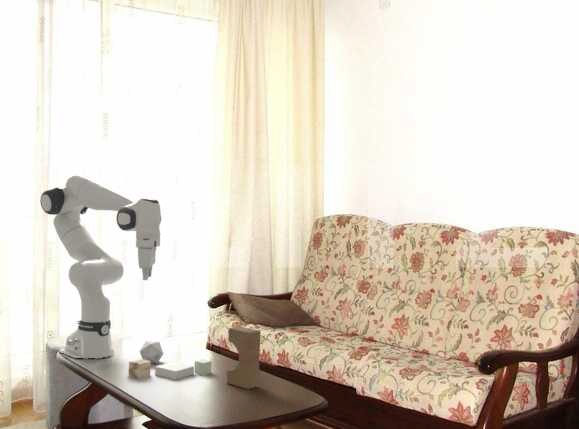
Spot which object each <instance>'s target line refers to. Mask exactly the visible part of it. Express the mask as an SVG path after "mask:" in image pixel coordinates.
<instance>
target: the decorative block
mask: <svg viewBox="0 0 579 429" xmlns="http://www.w3.org/2000/svg"><path fill="white" fill-rule="evenodd" d="M227 339H228V340H227V341H228V342H229V343H232V345H233V346H234V347H235V349H236V351H237V353H238V363H237V364H236V366H235V367H234V368H230V369H228V370H227V371H226V383H227V384H228V385H232V386H236V387H238V386H239V388H243V389H245V388H246V389H245V390H251V389H250V388H252V389H254V388H253V387H256V386H258V387H259V382H260V381H259V379H260V378H259V377H260V376H259V375H260V355H261V354H260V353H261V351H260V350H261V330H257V329H253V328H249V327H243V326H234V327H228V338H227ZM256 388H257V387H256Z"/></svg>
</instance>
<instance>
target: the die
mask: <svg viewBox="0 0 579 429" xmlns="http://www.w3.org/2000/svg"><path fill="white" fill-rule="evenodd" d="M139 354H140V357H141V359H144V360H148V361H151V364H153V365H155V364H157V365H158V363H159V362H160V360H161V359H162V357H163V355H164V352H163V349H162V346H161V343H160V341H152V340H151V341H145V342H144V344H143V346H142V347H141V348H140V350H139Z"/></svg>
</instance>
